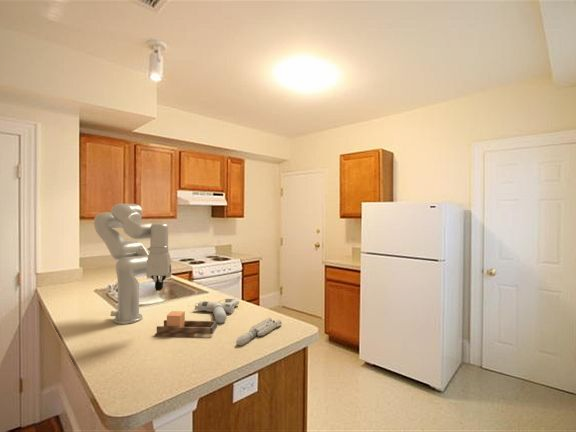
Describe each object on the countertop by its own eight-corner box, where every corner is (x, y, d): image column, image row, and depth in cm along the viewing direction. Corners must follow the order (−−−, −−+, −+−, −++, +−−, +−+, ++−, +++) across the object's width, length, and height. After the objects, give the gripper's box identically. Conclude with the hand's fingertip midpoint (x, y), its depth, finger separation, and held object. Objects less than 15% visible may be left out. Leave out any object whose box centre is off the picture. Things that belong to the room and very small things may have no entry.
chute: (154, 336, 136) (154, 328, 136) (166, 326, 148) (166, 318, 148) (211, 337, 135) (211, 329, 135) (217, 327, 147) (217, 319, 147)
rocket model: (282, 319, 151) (246, 341, 125) (282, 327, 151) (245, 350, 125) (266, 316, 155) (228, 336, 129) (266, 323, 155) (228, 345, 129)
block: (166, 330, 139) (166, 315, 138) (171, 325, 145) (172, 311, 144) (179, 331, 138) (180, 315, 138) (184, 326, 144) (184, 311, 144)
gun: (243, 306, 180) (224, 325, 151) (198, 303, 185) (170, 321, 156) (243, 296, 180) (224, 313, 151) (198, 293, 185) (170, 310, 156)
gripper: (139, 251, 137) (138, 292, 138) (172, 251, 137) (171, 292, 137) (146, 249, 145) (146, 287, 145) (178, 249, 145) (178, 288, 145)
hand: (159, 290), depth 141 cm, fingers closed
